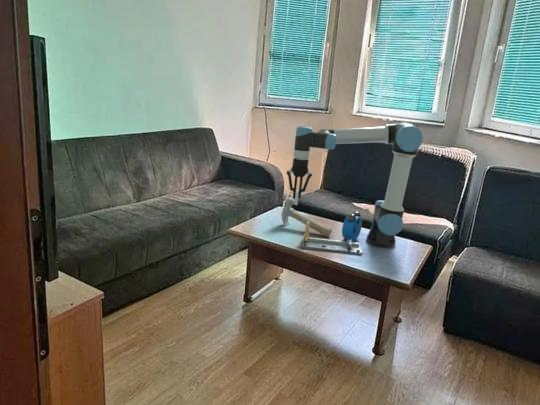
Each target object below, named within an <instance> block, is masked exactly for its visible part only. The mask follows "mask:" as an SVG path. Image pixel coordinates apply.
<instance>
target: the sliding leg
mask: <svg viewBox="0 0 540 405" xmlns="http://www.w3.org/2000/svg"><path fill="white" fill-rule="evenodd" d="M309 225H310V222H307V223H306V225H305V233H304V234H303V238H304V241H305V244H307V241H309V237H310V233H309V232H310V227H309Z"/></svg>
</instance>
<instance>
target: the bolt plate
mask: <svg viewBox="0 0 540 405" xmlns="http://www.w3.org/2000/svg"><path fill="white" fill-rule="evenodd" d="M301 239H302V240H301V249H305V250H314V251H323V252H331V253H340V254H341V253H342V254H350V255H358V256H363V250H362V246H361V244H359V247H356V246H351V249H350V248H349V246H347V245H338V244H329V243H320V242H311V241H307V244H305V241H304V237H303V238H301Z"/></svg>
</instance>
